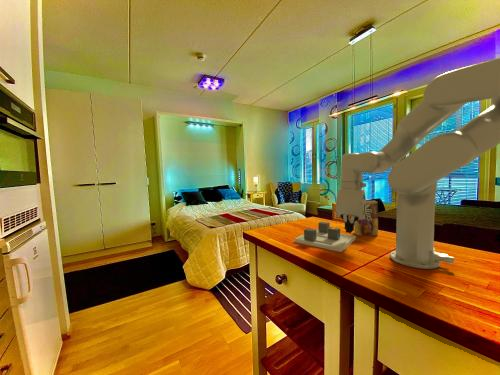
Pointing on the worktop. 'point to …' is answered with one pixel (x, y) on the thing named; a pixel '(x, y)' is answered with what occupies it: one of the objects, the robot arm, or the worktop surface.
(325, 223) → the block
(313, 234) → the block
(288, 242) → the worktop surface
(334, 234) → the block
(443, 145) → the robot arm
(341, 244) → the panel
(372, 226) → the candy box
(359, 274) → the worktop surface
